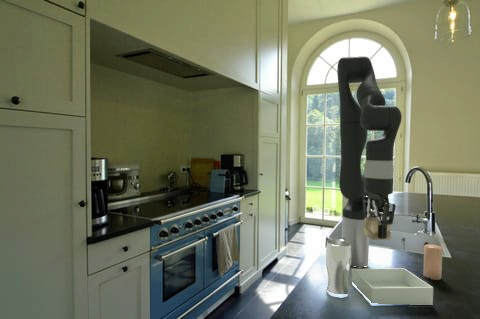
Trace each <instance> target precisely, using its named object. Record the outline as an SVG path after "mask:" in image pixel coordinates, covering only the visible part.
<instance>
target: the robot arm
mask: <svg viewBox="0 0 480 319" xmlns="http://www.w3.org/2000/svg"><path fill="white" fill-rule="evenodd" d="M336 68H337V69H336V70H337V83H338V84H337V85H338V93H339V94H338V96H339V132H340V133H339V134H340V135H339V136H340V167H339V168H340V170H339V171H340V172H339V180H338V181H339V190H340V191H339V192H340V193H341V195H342V196H343V197H344V198H345V199H347V203H346V205H345V206H344V207H343V208H342V218H341V219H342V220H341V222H342V224H341V225H342V226H341V227H342V228H341V240H345V241H348V242H350V243H351V266H356V267H364V266H367V265H368V266H369V251H370V250H369V248H370V238H369V237H368V236H366V235H364V225H365V218H377V219H378V224H379V225H378V238H380V239H386V238H387V225H393V223H394V218H395V212H396V208H397V207H396V206H397V205H396V204H395V203H391V202H390V198H389V195H392V194H393V192H394V173H395V172H394V171H395V170H394V145H395V141H396V138H397V134H398V131H399V129H400V126H401V123H402V116H403V115H402V112H401V110H400V109H399V107H397V106H395V105H387V104H386V99H385V96H384V94H383V93H382V91H381V89H380V87H379V86H378V83H377V79H376V74H375V71H374V66H373V64H372V61H371V59H370V58H369V57H368V56H366V55H358V56H343V57H340V59H339V60H338V63H337V67H336ZM358 83H360V84H359V85H358V87H357V90H356V93H355V94H356V95H355V97H356V99H355V98H354V96H353V94H352V91H351V88H350V84H358ZM356 100H357V101H356ZM368 131H369V132H374V131H378V132H381V131H383V134H382V135H381V137H379V138H372V139H369V140H368ZM364 149H365V164H364V172H362V169H361V168H362V167H361V164H362V162H361V161H362V155H363V152H364ZM381 218H382V220H381ZM368 266H367V267H368Z"/></svg>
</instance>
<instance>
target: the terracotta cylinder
mask: <svg viewBox="0 0 480 319" xmlns="http://www.w3.org/2000/svg"><path fill="white" fill-rule="evenodd" d="M423 247H424V250H423V273H422V274H423V277H425V278H427V279H429V278H430V279H429V280H436V281H440V280H441V279H442V271H443V270H442V268H443V266H442V264H443V247H442V246H439V245H436V244H429V243H428V244H424V246H423Z"/></svg>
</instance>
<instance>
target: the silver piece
mask: <svg viewBox="0 0 480 319" xmlns="http://www.w3.org/2000/svg"><path fill="white" fill-rule="evenodd" d="M325 264H326V271H327V282H328V283H327V286H326V291H327V290H328V291H329V292H331V293H334V294H347V293H348V294H349V289H348V288H349V287H348V281H349V280H348V279H349V276H350V271H351V270H350V269H351V267H350V266H351V243H350V242H348V241H345V240H342V239H340V238H333V239H332V238H331V239H328V240H327V241H326V249H325Z"/></svg>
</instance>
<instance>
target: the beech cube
mask: <svg viewBox="0 0 480 319" xmlns="http://www.w3.org/2000/svg"><path fill="white" fill-rule="evenodd" d="M381 220H382V217H381ZM378 225H379V224H378V219H377V218H365V225H364V235H366V236H368V237H369V239H371V240H374V241H375V240H376V241H377V240H383V241H384V240H385V241H387V240H391V229H392V228H391V227H392V226H391V225H387V238H386V239H380V238H378Z"/></svg>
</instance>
